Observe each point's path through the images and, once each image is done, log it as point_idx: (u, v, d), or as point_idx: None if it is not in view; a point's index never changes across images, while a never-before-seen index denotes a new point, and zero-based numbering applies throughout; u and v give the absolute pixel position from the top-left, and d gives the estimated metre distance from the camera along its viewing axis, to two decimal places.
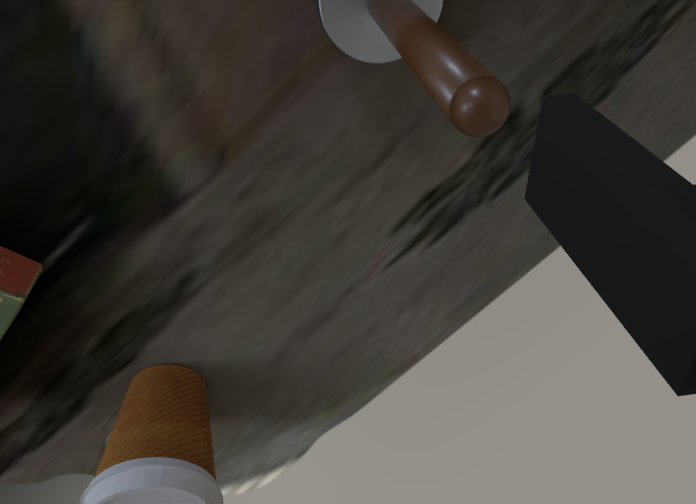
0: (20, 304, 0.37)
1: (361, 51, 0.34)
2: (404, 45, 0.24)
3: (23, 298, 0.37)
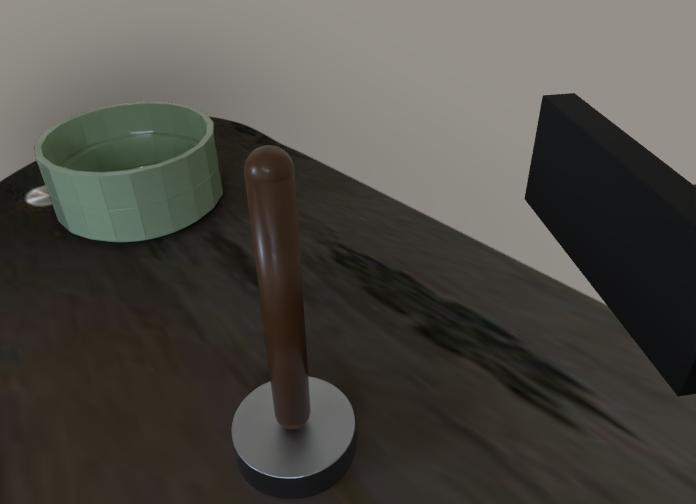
0: None
1: (340, 440, 0.32)
2: (273, 306, 0.27)
3: None
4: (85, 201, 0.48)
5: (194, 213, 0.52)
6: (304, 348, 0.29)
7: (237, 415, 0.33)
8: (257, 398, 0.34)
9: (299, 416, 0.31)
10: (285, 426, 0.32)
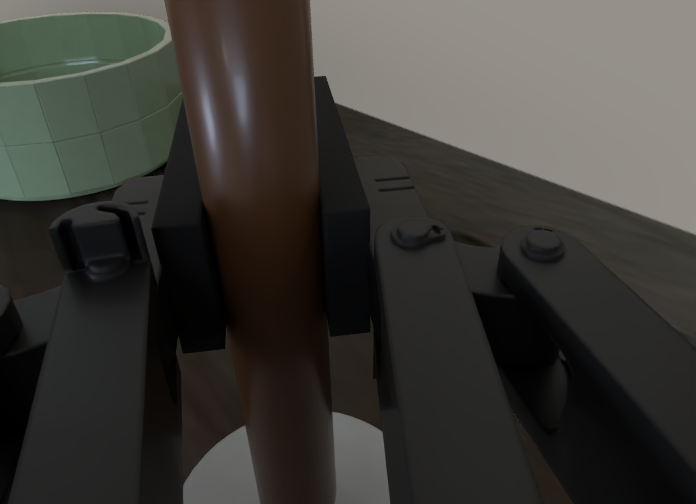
0: None
1: None
2: (241, 236, 0.09)
3: None
4: None
5: (145, 157, 0.35)
6: (325, 355, 0.12)
7: (183, 498, 0.16)
8: (226, 458, 0.17)
9: None
10: None
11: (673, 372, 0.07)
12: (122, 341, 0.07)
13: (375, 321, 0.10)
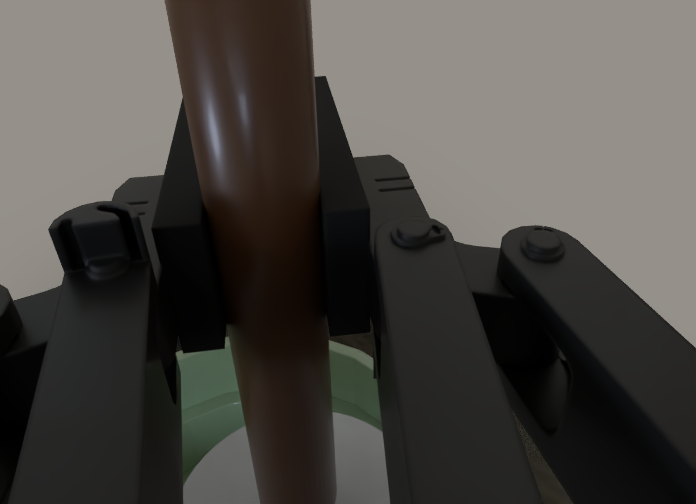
0: None
1: None
2: (242, 236, 0.09)
3: None
4: None
5: None
6: (326, 355, 0.12)
7: (183, 498, 0.16)
8: (226, 459, 0.17)
9: None
10: None
11: (673, 372, 0.07)
12: (122, 341, 0.07)
13: (375, 321, 0.10)
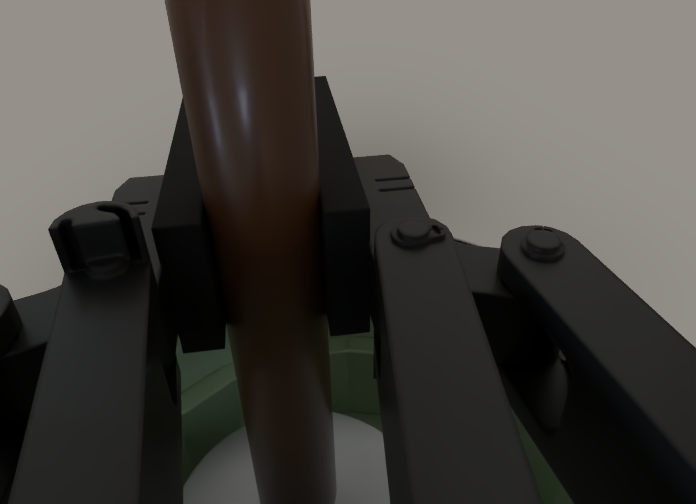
0: None
1: None
2: (241, 235, 0.09)
3: None
4: None
5: None
6: (325, 355, 0.12)
7: (183, 498, 0.16)
8: (226, 458, 0.17)
9: None
10: None
11: (673, 372, 0.07)
12: (122, 341, 0.07)
13: (375, 321, 0.10)
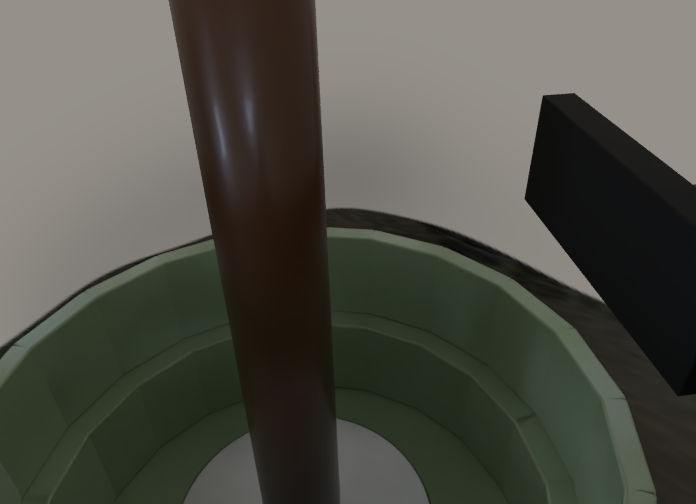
0: None
1: None
2: (247, 248, 0.09)
3: None
4: None
5: None
6: (330, 364, 0.12)
7: None
8: (230, 465, 0.17)
9: None
10: None
11: None
12: None
13: None
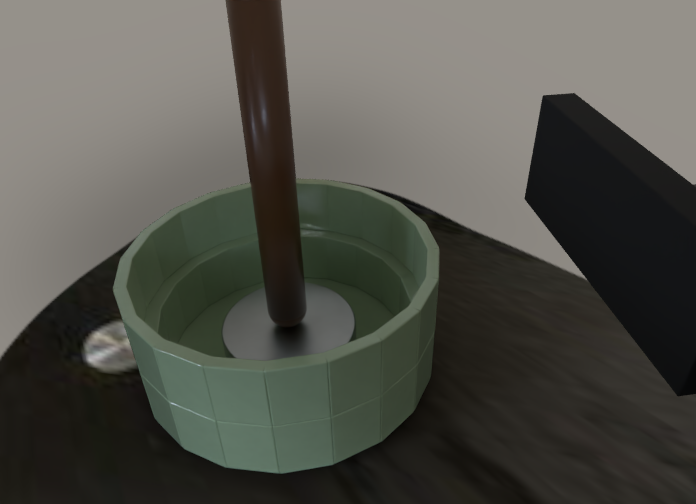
0: None
1: (340, 337, 0.30)
2: (262, 166, 0.24)
3: None
4: (226, 411, 0.24)
5: (411, 402, 0.28)
6: (297, 225, 0.27)
7: (228, 317, 0.31)
8: (249, 302, 0.32)
9: (294, 310, 0.29)
10: (279, 322, 0.29)
11: None
12: None
13: None
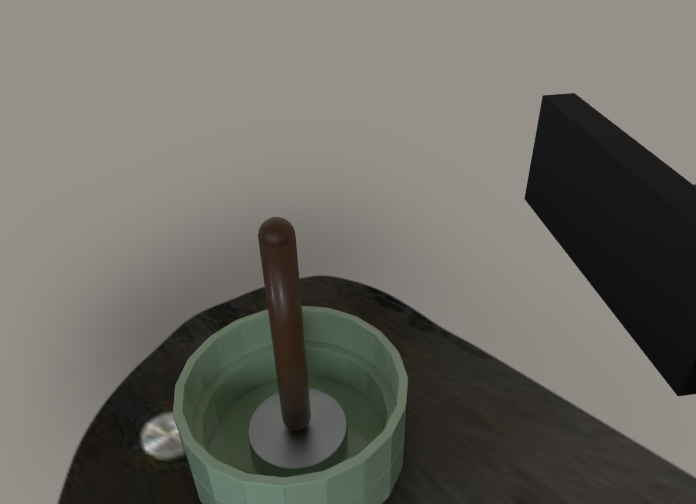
0: None
1: (335, 438, 0.40)
2: (281, 334, 0.35)
3: None
4: None
5: (387, 491, 0.38)
6: (305, 366, 0.37)
7: (252, 420, 0.42)
8: (267, 406, 0.42)
9: (302, 420, 0.40)
10: (291, 428, 0.40)
11: None
12: None
13: None
